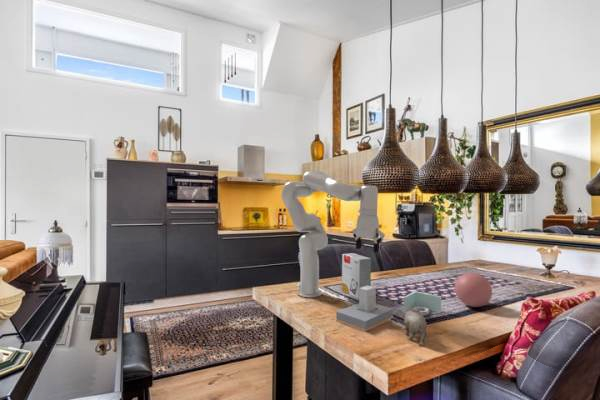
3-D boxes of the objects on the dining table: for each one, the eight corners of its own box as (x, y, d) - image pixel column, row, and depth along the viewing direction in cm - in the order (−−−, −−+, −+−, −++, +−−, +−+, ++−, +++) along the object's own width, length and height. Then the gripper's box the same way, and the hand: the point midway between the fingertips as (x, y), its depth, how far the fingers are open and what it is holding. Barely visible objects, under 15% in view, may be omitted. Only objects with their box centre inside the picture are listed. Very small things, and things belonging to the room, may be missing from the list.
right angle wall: (403, 313, 145) (403, 296, 145) (414, 307, 154) (414, 291, 154) (431, 321, 137) (431, 303, 137) (441, 313, 146) (441, 296, 146)
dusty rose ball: (479, 298, 166) (480, 268, 165) (498, 312, 146) (498, 278, 145) (447, 297, 168) (447, 266, 167) (461, 310, 148) (461, 276, 147)
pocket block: (336, 321, 135) (336, 311, 134) (365, 309, 148) (365, 300, 148) (365, 331, 124) (365, 321, 124) (392, 318, 138) (393, 308, 138)
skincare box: (367, 312, 142) (367, 285, 141) (375, 315, 139) (376, 287, 138) (358, 316, 138) (359, 287, 137) (367, 319, 134) (367, 289, 134)
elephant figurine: (402, 339, 112) (406, 296, 120) (400, 348, 123) (404, 308, 131) (426, 345, 110) (429, 301, 118) (422, 353, 121) (425, 312, 129)
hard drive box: (341, 290, 177) (341, 253, 177) (352, 289, 180) (353, 252, 180) (358, 299, 163) (359, 259, 163) (371, 297, 167) (371, 257, 166)
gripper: (348, 211, 153) (347, 248, 154) (379, 214, 141) (378, 254, 141) (358, 211, 158) (357, 246, 159) (389, 214, 146) (388, 252, 146)
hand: (367, 250), depth 150 cm, fingers open, 9 cm apart
